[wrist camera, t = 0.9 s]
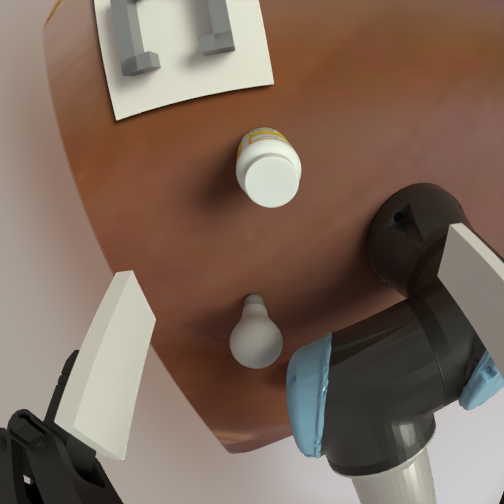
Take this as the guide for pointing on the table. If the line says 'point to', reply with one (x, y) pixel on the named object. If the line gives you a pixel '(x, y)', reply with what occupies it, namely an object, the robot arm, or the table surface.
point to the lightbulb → (255, 336)
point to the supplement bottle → (267, 167)
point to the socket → (179, 50)
